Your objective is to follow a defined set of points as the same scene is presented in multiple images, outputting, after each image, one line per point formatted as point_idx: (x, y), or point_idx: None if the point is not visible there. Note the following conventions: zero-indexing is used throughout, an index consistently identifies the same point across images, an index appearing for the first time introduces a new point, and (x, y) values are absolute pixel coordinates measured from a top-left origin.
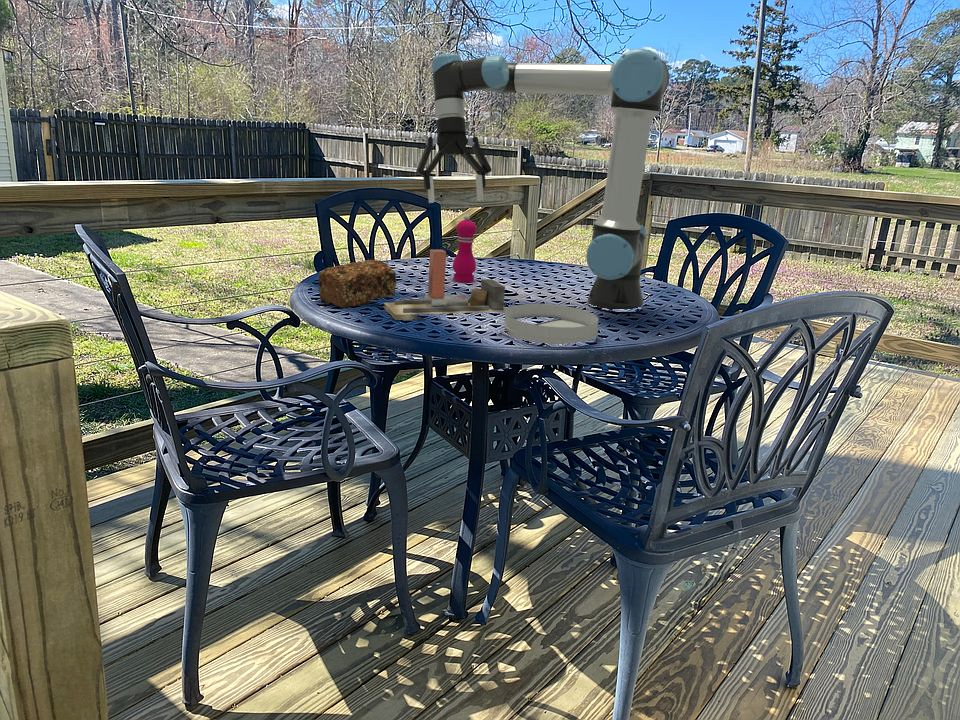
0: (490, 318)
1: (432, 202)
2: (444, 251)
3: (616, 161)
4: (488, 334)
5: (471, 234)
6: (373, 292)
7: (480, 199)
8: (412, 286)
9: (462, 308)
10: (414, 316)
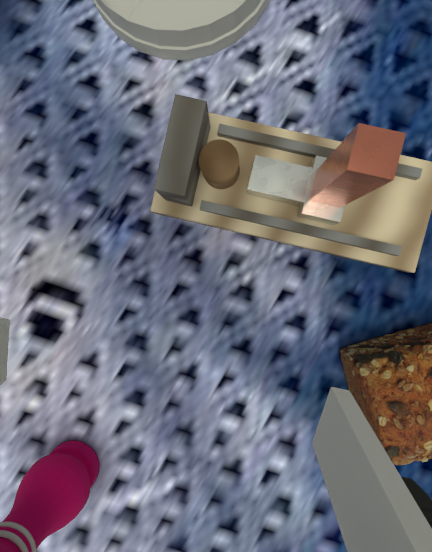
0: None
1: (322, 420)
2: (362, 130)
3: None
4: (305, 5)
5: None
6: (415, 334)
7: (5, 327)
8: (232, 448)
9: (283, 138)
10: None
